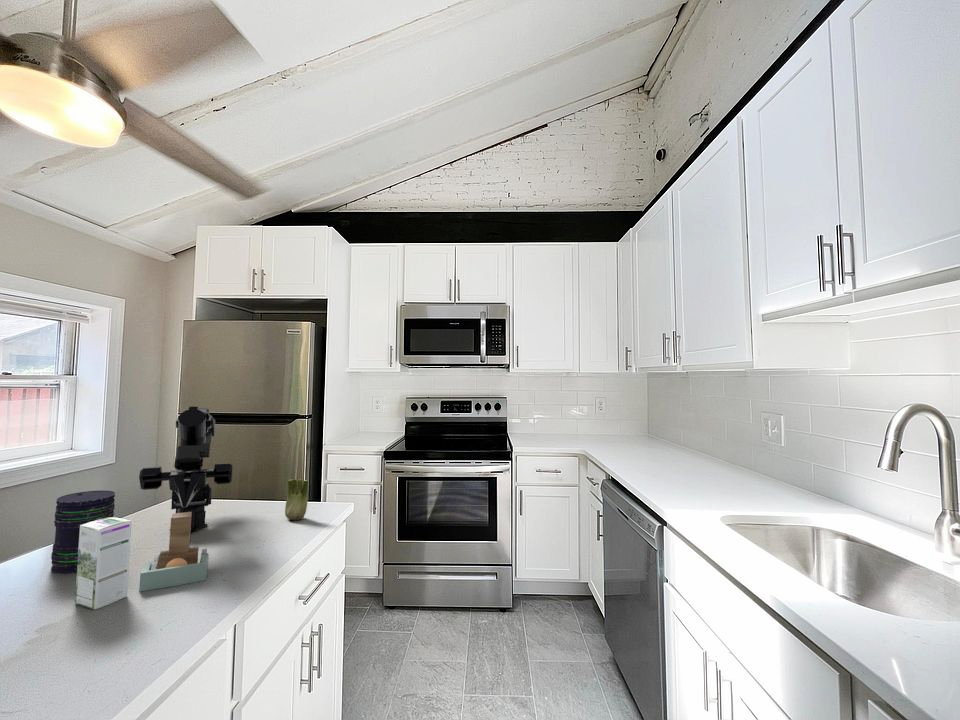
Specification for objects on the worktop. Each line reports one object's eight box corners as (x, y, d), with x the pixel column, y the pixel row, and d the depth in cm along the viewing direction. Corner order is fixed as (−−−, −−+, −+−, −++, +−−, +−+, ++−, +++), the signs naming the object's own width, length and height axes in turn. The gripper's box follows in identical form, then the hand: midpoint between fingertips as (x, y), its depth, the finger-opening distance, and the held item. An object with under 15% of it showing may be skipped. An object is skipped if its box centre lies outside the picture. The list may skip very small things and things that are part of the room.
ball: (161, 561, 91) (158, 581, 88) (174, 553, 90) (172, 573, 87) (179, 563, 94) (177, 582, 91) (193, 555, 93) (191, 575, 91)
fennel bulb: (308, 518, 131) (310, 478, 132) (295, 523, 127) (297, 481, 127) (294, 515, 134) (296, 476, 134) (281, 520, 129) (283, 479, 130)
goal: (144, 578, 90) (145, 561, 90) (207, 568, 95) (208, 552, 96) (139, 591, 84) (140, 573, 85) (205, 580, 90) (206, 563, 90)
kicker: (159, 565, 95) (163, 514, 96) (197, 559, 98) (201, 510, 99) (157, 572, 91) (160, 519, 92) (196, 566, 95) (199, 515, 96)
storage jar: (120, 561, 98) (125, 494, 99) (64, 578, 89) (69, 504, 90) (96, 552, 102) (101, 488, 103) (40, 568, 93) (46, 497, 94)
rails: (155, 560, 99) (155, 555, 99) (206, 552, 104) (207, 548, 104) (148, 575, 92) (149, 570, 92) (204, 566, 96) (205, 561, 97)
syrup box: (128, 596, 83) (134, 519, 83) (92, 611, 77) (98, 528, 78) (109, 590, 85) (114, 515, 85) (72, 605, 79) (78, 524, 80)
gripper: (143, 433, 102) (130, 491, 92) (234, 430, 111) (231, 484, 101) (146, 460, 108) (135, 518, 98) (232, 456, 118) (229, 509, 108)
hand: (184, 506), depth 101 cm, fingers closed
